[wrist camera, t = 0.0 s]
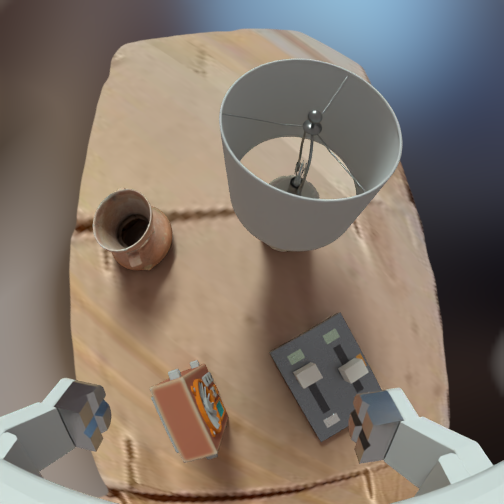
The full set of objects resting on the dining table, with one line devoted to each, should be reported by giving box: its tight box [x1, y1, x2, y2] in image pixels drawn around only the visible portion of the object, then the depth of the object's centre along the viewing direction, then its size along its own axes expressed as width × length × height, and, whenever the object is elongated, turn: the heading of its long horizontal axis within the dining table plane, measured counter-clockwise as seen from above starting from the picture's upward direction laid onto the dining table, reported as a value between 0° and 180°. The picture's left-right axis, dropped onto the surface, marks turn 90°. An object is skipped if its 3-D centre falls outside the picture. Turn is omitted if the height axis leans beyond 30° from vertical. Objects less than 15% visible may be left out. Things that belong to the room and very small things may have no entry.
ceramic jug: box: [93, 188, 172, 270], centre depth 60 cm, size 18×14×14 cm
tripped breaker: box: [338, 358, 368, 384], centre depth 54 cm, size 3×4×4 cm
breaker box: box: [269, 313, 382, 442], centre depth 58 cm, size 22×16×3 cm
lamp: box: [219, 59, 402, 252], centre depth 49 cm, size 20×20×39 cm
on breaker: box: [293, 362, 323, 389], centre depth 54 cm, size 3×4×4 cm
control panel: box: [150, 360, 228, 463], centre depth 48 cm, size 21×7×15 cm
